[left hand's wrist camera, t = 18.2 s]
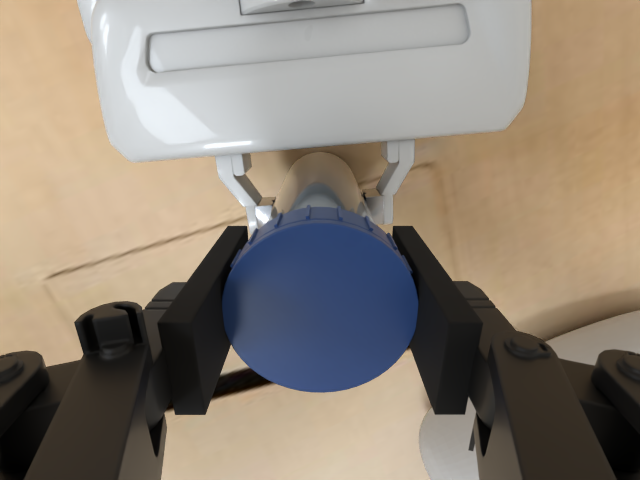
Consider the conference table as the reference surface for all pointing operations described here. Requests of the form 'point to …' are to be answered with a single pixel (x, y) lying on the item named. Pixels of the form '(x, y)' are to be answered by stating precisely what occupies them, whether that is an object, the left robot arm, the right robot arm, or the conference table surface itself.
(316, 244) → the lid
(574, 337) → the projector
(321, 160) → the jar
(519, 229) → the conference table surface
